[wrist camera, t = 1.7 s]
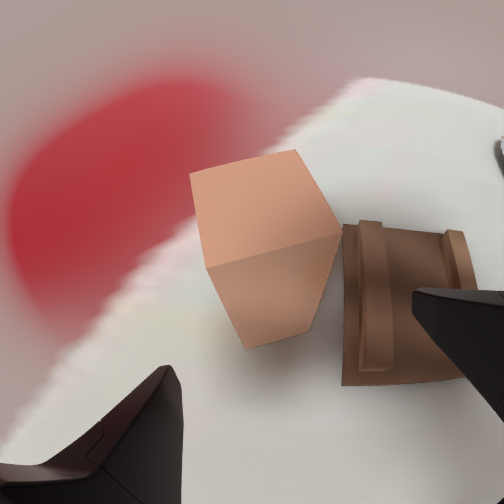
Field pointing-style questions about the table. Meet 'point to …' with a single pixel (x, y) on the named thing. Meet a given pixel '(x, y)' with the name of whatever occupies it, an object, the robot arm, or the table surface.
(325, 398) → the table surface
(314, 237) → the clay bar
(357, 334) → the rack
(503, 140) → the food on plate
